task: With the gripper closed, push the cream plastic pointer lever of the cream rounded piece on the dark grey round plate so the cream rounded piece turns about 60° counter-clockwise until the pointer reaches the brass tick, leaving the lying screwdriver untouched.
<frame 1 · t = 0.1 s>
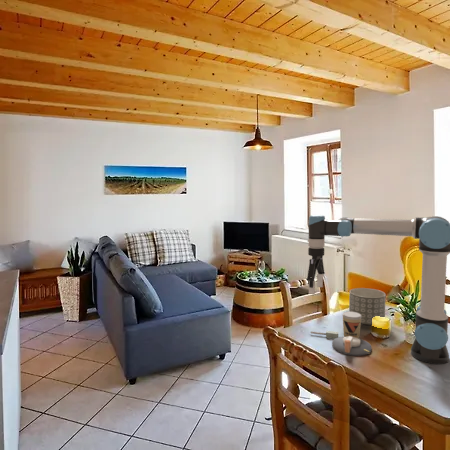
hand: (315, 290, 173), 28 cm above the table, fingers open, 13 cm apart
cream rounded piece: (350, 341, 169), point 5 cm above the table, hinge at 0.0°
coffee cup: (351, 336, 186), on the table
planter: (366, 323, 203), on the table
dark grey round plate: (351, 347, 173), on the table
tick: (366, 354, 166), resting on dark grey round plate
screwdriver: (326, 336, 186), on the table
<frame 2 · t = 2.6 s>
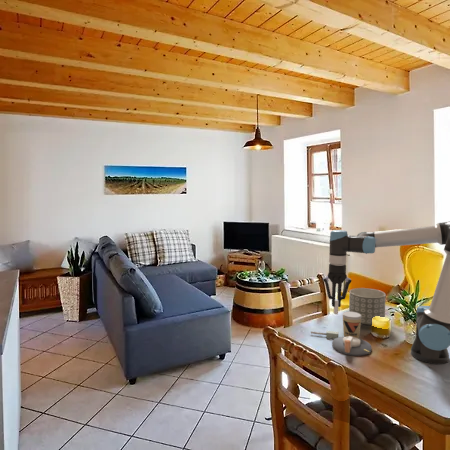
hand: (335, 313, 166), 19 cm above the table, fingers closed
nothing on the table moved.
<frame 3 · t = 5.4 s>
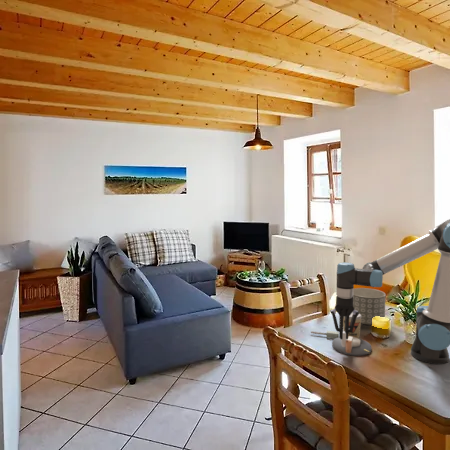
hand: (343, 345, 166), 4 cm above the table, fingers closed
cream rounded piece: (350, 341, 169), point 5 cm above the table, hinge at 2.5°, touching gripper
everything else where it was.
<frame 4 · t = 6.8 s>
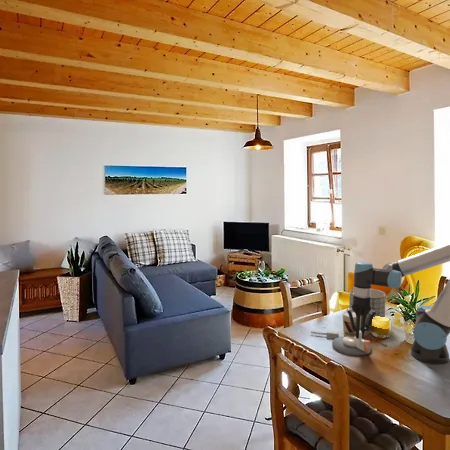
hand: (359, 345, 165), 4 cm above the table, fingers closed
cream rounded piece: (357, 341, 169), point 4 cm above the table, hinge at 52.6°, touching gripper
everything else where it was.
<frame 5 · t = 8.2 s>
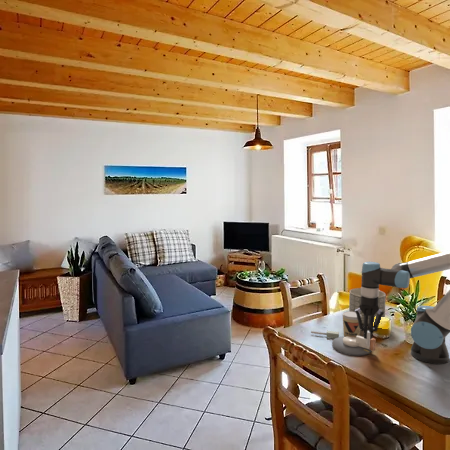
hand: (367, 345, 165), 5 cm above the table, fingers closed
cream rounded piece: (359, 340, 170), point 5 cm above the table, hinge at 76.2°, touching gripper
everything else where it was.
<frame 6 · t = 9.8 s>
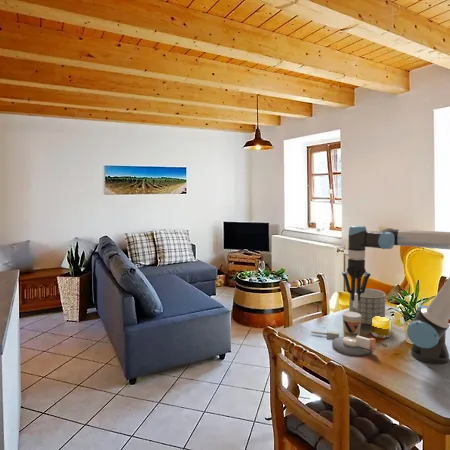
hand: (355, 307, 169), 21 cm above the table, fingers closed
cream rounded piece: (359, 340, 170), point 5 cm above the table, hinge at 76.3°
everything else where it was.
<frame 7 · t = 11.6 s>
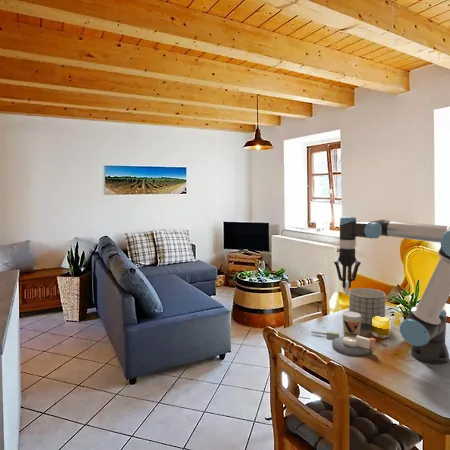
hand: (346, 294, 178), 24 cm above the table, fingers closed
nothing on the table moved.
at the end: cream rounded piece at +76° (first picture: +0°); screwdriver moved 0.5 cm from its start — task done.
